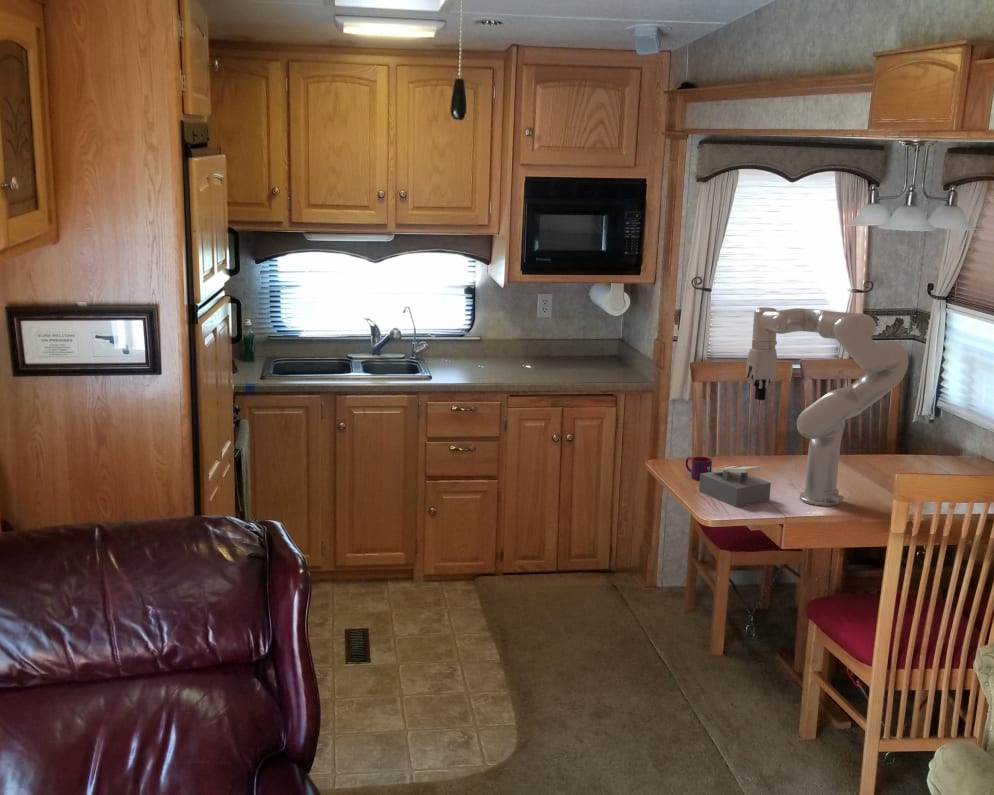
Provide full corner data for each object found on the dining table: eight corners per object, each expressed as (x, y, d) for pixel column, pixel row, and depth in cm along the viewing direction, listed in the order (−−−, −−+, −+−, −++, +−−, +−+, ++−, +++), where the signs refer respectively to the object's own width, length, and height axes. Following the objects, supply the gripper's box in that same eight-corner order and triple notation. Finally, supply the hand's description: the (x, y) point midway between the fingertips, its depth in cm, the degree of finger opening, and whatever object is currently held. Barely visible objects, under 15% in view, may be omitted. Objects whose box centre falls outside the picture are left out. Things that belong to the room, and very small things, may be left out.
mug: (701, 482, 348) (702, 462, 347) (680, 474, 356) (681, 456, 355) (714, 479, 352) (716, 460, 350) (694, 471, 360) (695, 453, 358)
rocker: (759, 470, 326) (759, 465, 326) (745, 473, 323) (744, 468, 323) (726, 470, 340) (725, 465, 340) (712, 472, 337) (711, 467, 337)
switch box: (769, 500, 329) (771, 473, 327) (735, 507, 323) (737, 479, 321) (731, 485, 345) (733, 459, 343) (699, 491, 338) (700, 465, 336)
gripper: (772, 341, 344) (768, 395, 348) (738, 345, 337) (735, 399, 341) (788, 345, 338) (784, 399, 342) (754, 348, 331) (750, 403, 335)
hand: (759, 399), depth 342 cm, fingers closed
